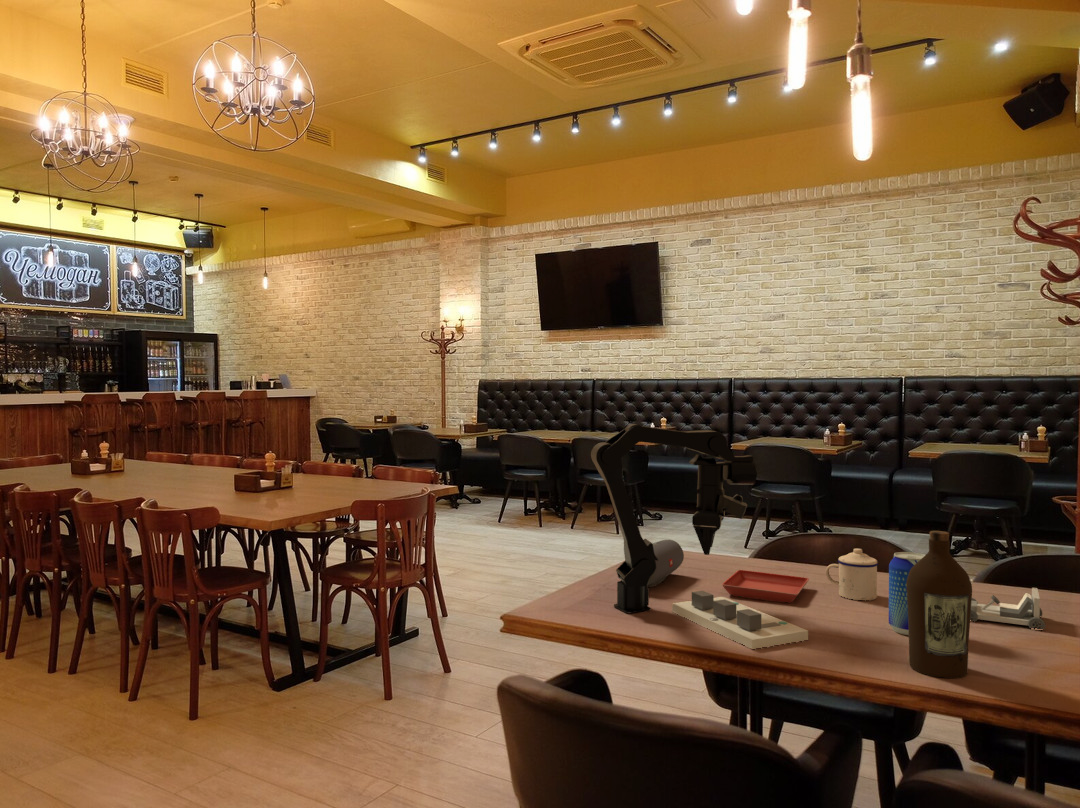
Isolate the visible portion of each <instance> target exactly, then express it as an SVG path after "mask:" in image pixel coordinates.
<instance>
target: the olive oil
mask: <svg viewBox="0 0 1080 808" xmlns="http://www.w3.org/2000/svg"><path fill="white" fill-rule="evenodd" d="M949 537H950V533H949V532H948V531H944V530H943V531H941V530H930V531H929V538H928V552H927V553H926V554H924V555H925V556H924V557H923V558H922V559H921V560H919V561H918V562H917V563H916V564H915V565H914V566H913V567H912V568H911V570H910V571H909V574H908V577H907V582H906V586H907V606H908V628H909V635H908V657H909V659H908V660H909V667H910V668H911V669H913V670H914V671H915V672H918V673H919V674H924V675H926V674H927V676H929V677H935V676H936V678H941V677H944V678H943V679H958V678H957V677H959V678H962V676H963V677H965V676H967V674H968V669H969V667H968V665H969V642H970V627H971V622H970V614H971V601H972V598H973V583H972V584H971V581H970V579H971V578H970V576H969V574H968V572H967V571H966V570H965V568H963V566H962V565H960V563H958V561H957V560H956V559H955V558H954V557H953V556H952V554H951V553H950V550H951V549H950V547H951V546H950V544H951V541H950V539H949Z"/></svg>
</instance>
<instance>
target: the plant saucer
mask: <svg viewBox="0 0 1080 808" xmlns="http://www.w3.org/2000/svg"><path fill="white" fill-rule="evenodd" d="M809 580H810V578H808V577H804V576H797V575H796V576H794V575H793V576H792V575H787V574H779V573H771V572H761V571H755V570H754V571H753V570H746V569H737V570H736V571H735V572H734V573H732V575H730V576H729V577H728V578H727V579H726V580H725V581H724V582H722V583H721V585H722V587H723V589H724V590H725V591H726V592H727V593H728V594H729V595H730V596H731V595H734V596H733V597H737V596H742V597H741V598H745V597H748V598H747V599H753V598H756V599H755V600H761V599H763V601H769V600H770V601H769V602H776V601H779V602H778V603H784V602H788V603H787V604H792V603H793V602H794V601H795V599H796V598H797V597H798V595H799V594H800V593H801V592H802V590H803V589H804V588H805V586H806V585H807V583H808V582H809ZM791 602H792V603H791Z"/></svg>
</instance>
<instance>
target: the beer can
mask: <svg viewBox="0 0 1080 808" xmlns="http://www.w3.org/2000/svg"><path fill="white" fill-rule="evenodd" d="M925 555H926V554H924V553H919V552H918V553H917V552H911V551H900V552H894V554H893V558H892V559H891V560H890V562H889V564H888V624H889V625H890V626H891V628H892V631H893V632H895V633H898V634H900V635H904V636H909V628H908V606H907V586H906V582H907V577H908V574H909V571H910V570H911V568H912V567H913V566H914V565H915V564H916V563H917V562H918V561H919V560H921V559H922V558H923V557H924V556H925Z"/></svg>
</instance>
